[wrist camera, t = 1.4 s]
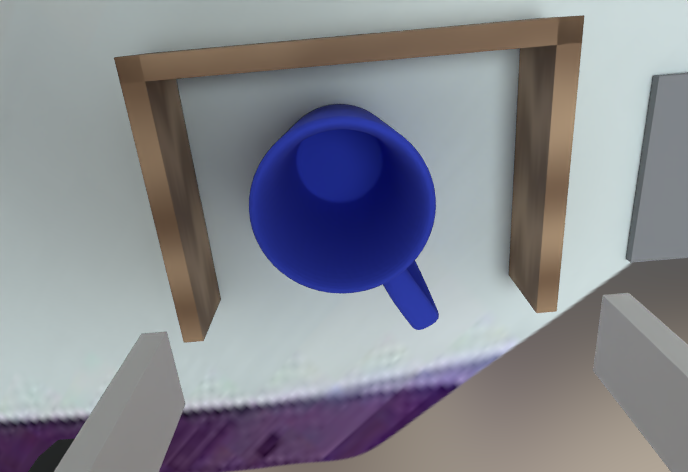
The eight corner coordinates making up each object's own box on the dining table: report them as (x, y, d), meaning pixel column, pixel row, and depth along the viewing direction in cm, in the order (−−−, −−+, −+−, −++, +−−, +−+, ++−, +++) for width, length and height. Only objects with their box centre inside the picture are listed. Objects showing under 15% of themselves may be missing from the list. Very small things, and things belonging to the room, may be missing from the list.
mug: (354, 284, 34) (363, 378, 25) (246, 140, 30) (208, 188, 21) (458, 222, 33) (508, 297, 24) (358, 61, 29) (371, 75, 20)
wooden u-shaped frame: (149, 53, 28) (114, 57, 24) (542, 18, 28) (584, 15, 24) (203, 300, 35) (183, 342, 30) (526, 273, 34) (556, 311, 30)
